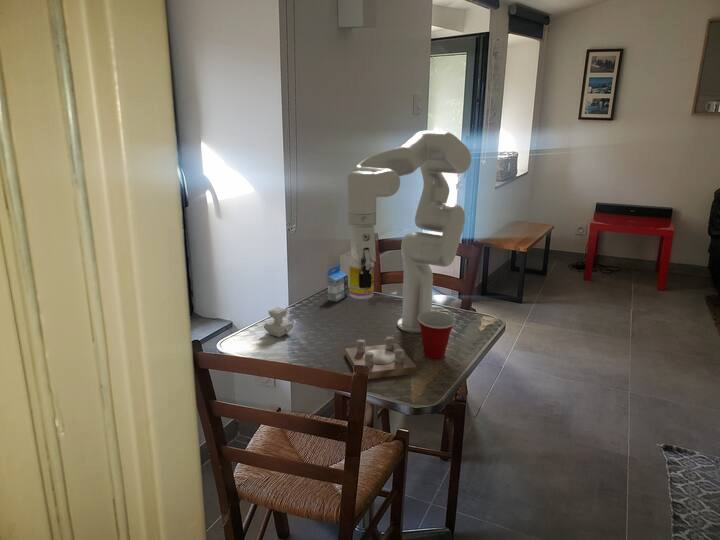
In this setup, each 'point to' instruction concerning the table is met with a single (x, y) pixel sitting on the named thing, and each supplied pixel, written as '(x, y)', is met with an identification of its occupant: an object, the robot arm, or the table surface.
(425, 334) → the plastic cup
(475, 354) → the table surface
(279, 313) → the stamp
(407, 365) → the stub board
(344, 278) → the label tape box
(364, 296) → the supplement bottle
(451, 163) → the robot arm
